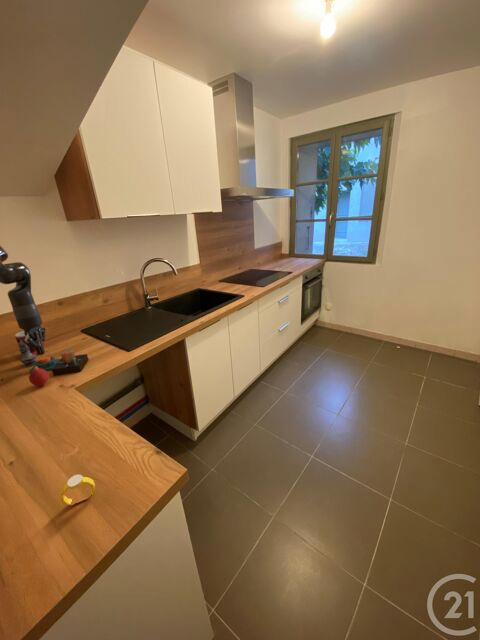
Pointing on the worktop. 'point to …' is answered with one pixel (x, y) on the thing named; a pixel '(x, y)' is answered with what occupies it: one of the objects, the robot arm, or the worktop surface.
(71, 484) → the watch
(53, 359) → the ignition block
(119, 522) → the worktop surface
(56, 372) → the black square tray
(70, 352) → the hob knob
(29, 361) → the grey chess piece
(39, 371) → the red round piece
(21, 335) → the canned food
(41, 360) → the ignition button
